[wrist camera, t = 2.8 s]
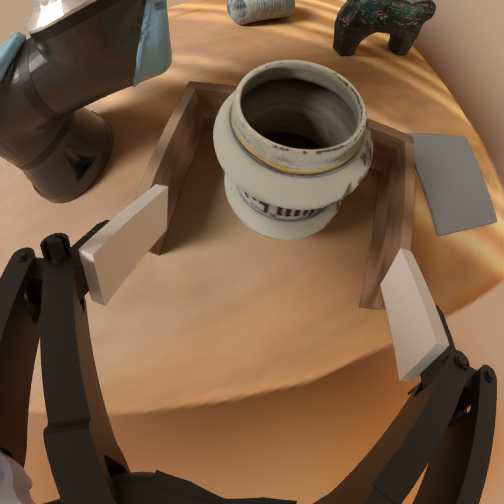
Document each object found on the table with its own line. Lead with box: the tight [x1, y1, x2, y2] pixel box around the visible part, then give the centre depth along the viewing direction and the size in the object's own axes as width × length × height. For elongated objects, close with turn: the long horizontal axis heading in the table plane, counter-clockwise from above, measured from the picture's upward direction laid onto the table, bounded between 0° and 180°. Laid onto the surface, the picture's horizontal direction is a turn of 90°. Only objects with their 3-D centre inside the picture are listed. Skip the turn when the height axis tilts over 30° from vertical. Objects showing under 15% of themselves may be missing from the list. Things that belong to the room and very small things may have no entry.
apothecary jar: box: [213, 60, 373, 240], centre depth 23 cm, size 12×12×18 cm
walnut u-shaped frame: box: [134, 82, 415, 309], centre depth 28 cm, size 19×26×8 cm
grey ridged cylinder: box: [227, 0, 295, 24], centre depth 36 cm, size 14×10×10 cm
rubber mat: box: [405, 133, 497, 236], centre depth 33 cm, size 16×16×1 cm
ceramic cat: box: [333, 0, 436, 56], centre depth 28 cm, size 20×6×20 cm, turn 111°
